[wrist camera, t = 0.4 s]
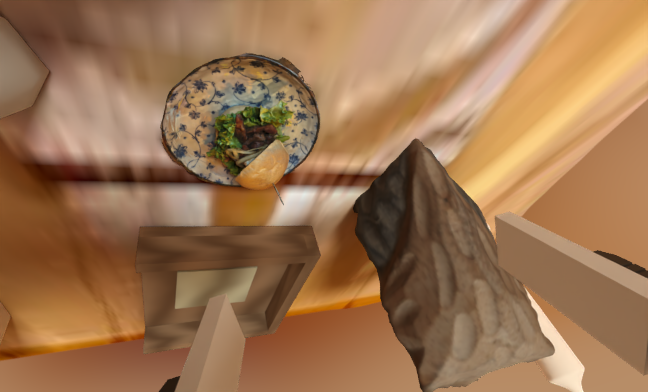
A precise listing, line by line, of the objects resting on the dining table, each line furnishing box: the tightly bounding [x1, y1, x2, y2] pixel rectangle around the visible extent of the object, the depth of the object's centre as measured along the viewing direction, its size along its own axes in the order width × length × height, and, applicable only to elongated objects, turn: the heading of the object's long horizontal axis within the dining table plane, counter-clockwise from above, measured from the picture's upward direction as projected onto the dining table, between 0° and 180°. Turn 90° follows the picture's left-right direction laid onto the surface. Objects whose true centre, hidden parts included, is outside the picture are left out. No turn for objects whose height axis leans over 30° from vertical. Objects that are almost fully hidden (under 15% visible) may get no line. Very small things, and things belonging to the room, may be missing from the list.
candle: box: [487, 224, 585, 392], centre depth 44 cm, size 7×7×25 cm
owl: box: [353, 139, 555, 392], centre depth 31 cm, size 13×13×20 cm
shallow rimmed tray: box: [135, 226, 321, 354], centre depth 39 cm, size 18×22×4 cm
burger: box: [160, 53, 320, 205], centre depth 22 cm, size 12×12×8 cm
